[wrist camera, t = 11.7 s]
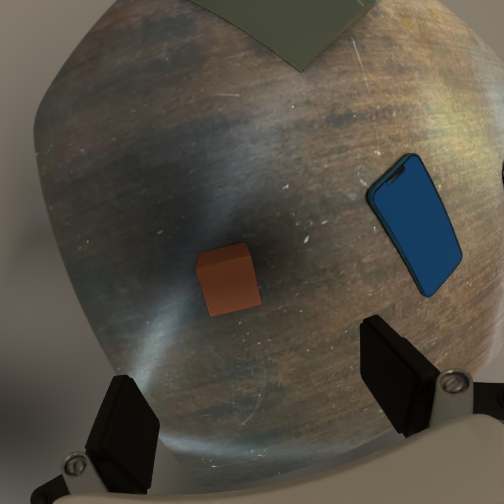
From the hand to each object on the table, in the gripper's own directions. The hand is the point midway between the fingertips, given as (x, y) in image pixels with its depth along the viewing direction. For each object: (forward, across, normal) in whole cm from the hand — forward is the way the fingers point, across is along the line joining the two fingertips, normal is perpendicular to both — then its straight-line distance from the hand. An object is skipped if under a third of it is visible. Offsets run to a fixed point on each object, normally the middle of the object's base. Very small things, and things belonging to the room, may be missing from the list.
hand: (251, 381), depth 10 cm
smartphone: (+15, -19, +1) cm, 24 cm away
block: (+14, 0, 0) cm, 15 cm away
